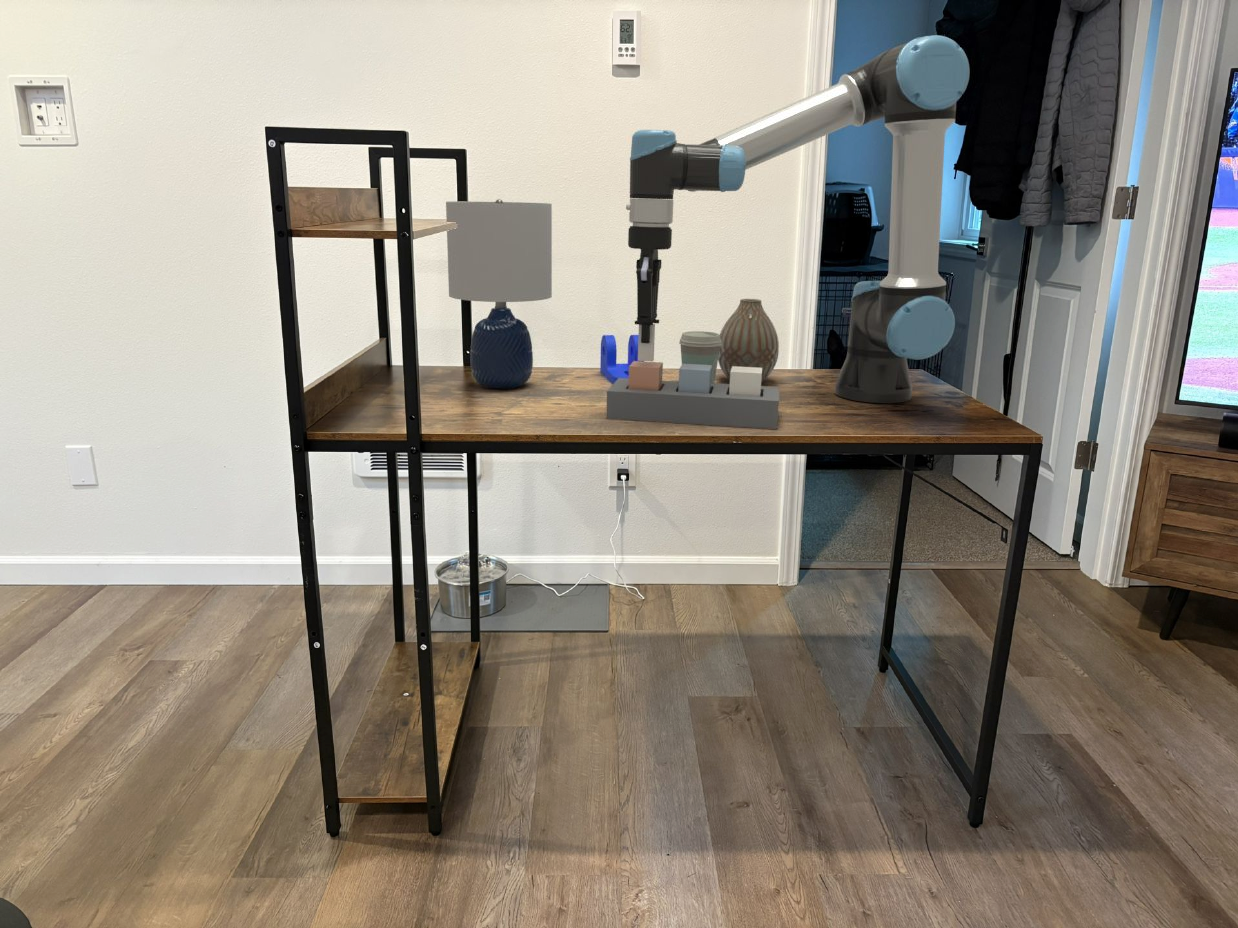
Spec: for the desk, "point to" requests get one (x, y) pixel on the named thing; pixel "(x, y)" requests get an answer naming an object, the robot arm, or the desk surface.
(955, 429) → the desk surface
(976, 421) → the desk surface
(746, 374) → the white key
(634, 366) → the terracotta key
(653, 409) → the grey socket block
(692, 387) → the slate key
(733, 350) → the vase
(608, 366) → the bracket
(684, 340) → the coffee cup
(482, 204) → the lamp
